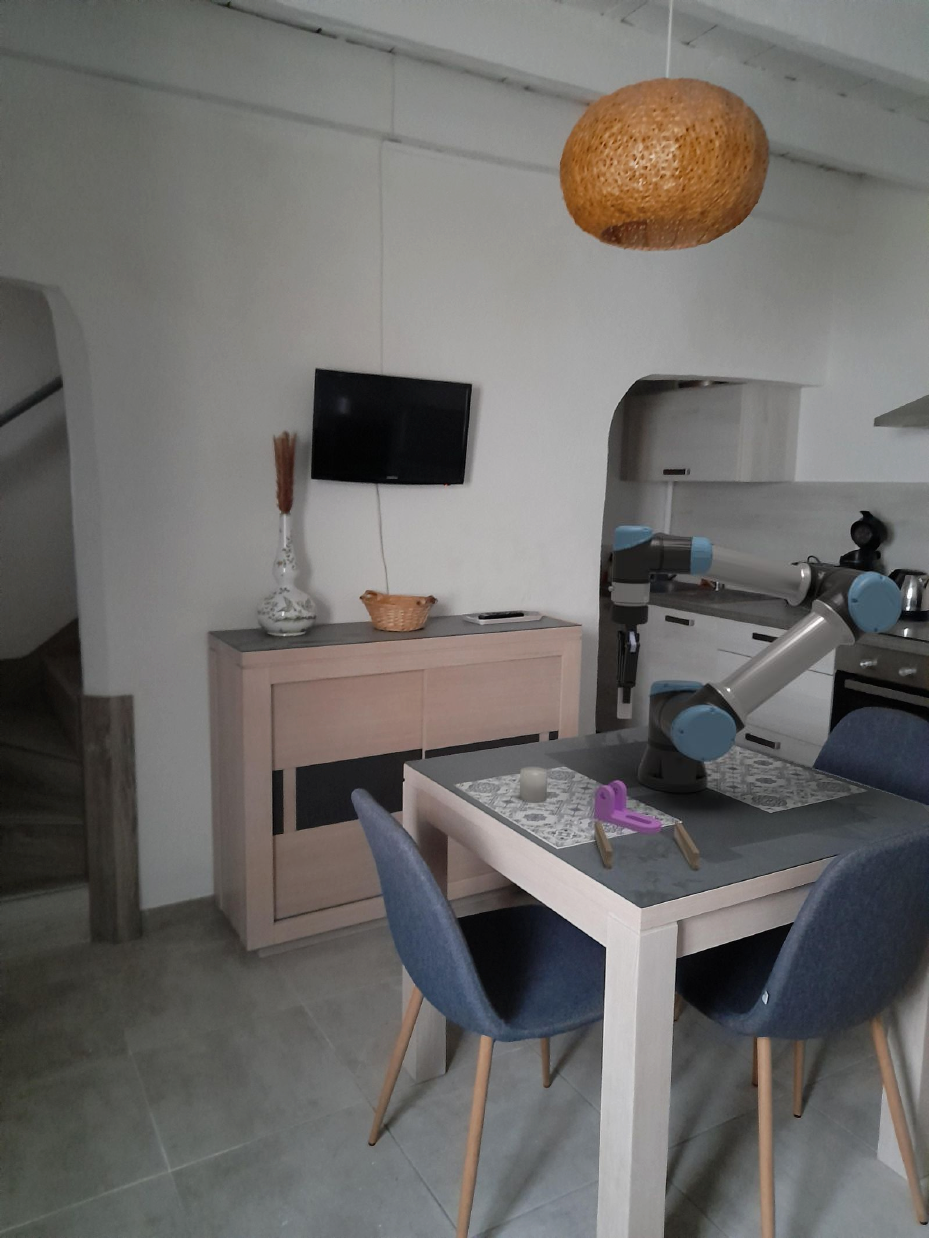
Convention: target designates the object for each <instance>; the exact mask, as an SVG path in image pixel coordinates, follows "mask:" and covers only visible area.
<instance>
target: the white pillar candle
mask: <svg viewBox="0 0 929 1238" xmlns="http://www.w3.org/2000/svg"><path fill="white" fill-rule="evenodd" d="M519 773H520V774H519V775H520V778H519V800H521V801H523V802H525V803H530V804H531V803H532V804H539V803H540V804H541V803H544V802H546V801H547V798H548V797H547V796H548V794H547V793H548V770H547V769H546V768H543V767H541V766H524V767H523V768H521V769H520V772H519Z"/></svg>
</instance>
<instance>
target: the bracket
mask: <svg viewBox="0 0 929 1238" xmlns="http://www.w3.org/2000/svg"><path fill="white" fill-rule="evenodd" d="M627 791H628V790H627V786H626V785H625V783H624V782H623V781H621V780H613V781H611V782H609V783H608V785H607V784H605V785H601V786H598V788H596V790H595V791H594V792H595V793H594V812H593V813H594V814H593V818H594V819H595V820H598V821H601V822H606V823H609V824H611V825H615V826H618V827H621V828H624V829H627V830H631V831H634V832H637V833H641V834H645V835H646V834H647V835H648V834H649V835H654V834H657V833H661V831H662V821H661V820H659V819H657V818H654V817H651V816H648V815H645V814H642V813H639V812H635V811H631V810H628V808H627V796H628V795H627V793H628V792H627Z"/></svg>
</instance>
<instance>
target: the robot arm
mask: <svg viewBox="0 0 929 1238" xmlns="http://www.w3.org/2000/svg"><path fill="white" fill-rule="evenodd" d="M612 543H613V545H612V549H611V550H612V570H611V571H612V573H611V574H612V575H611V577H612V578H611V586H608V591H609V592H611V594H610V595H611V596H610V600H611V601H612V602H613V603H611V604H610V611H609V614H610V615H609V620H610V622H612V624H613V623H614V624H616V625H619V630H617V631H616V634H615V637H616V676H615V677H616V680H617V683H616V688H617V707H616V709H617V710H616V711H617V712H616V717H617V719H621V720H622V719H625V720H627V719H632V718H633V717H632V715H633V714H632V713H633V712H632V711H633V695H634V693H633V692H634V688H635V687H636V684H637V682H636V681H637V671H638V661H639V653H640V649H641V643H640V638H641V637H640V634H641V633H639V632H638V626H639V625H645V624H647V623H648V622H649V606H648V605H647V603H649V602H650V594H651V593H650V589H651V574H654V575H659V574H660V575H684V576H685V575H686V576H688V577H689V576H690V577H692V578H693V577H694V578H698V579H702V580H705V581H706V580H707V581H711V582H713V583H714V582H715V583H718V584H722V585H726V586H730V587H735V588H738V589H743V590H747V591H751V592H754V593H755V592H756V593H758V594H759V593H760V594H764V595H768V596H772V597H776V598H780V599H784V600H787V602H788V605H790V606H793V607H797V608H801V609H804V610H806V611H810V613H808V614H807V615H806V616H804V617H803V618H802V619H800V621H798V622H796V624H794V625H793V626H791V627H790V628H789V629H788V630H787V631H785V632H784V633H783V634H781V635H780V636H779V637H778V638H776V639H774V640H773V641H772V642H771V643H769V645H767V646H766V647H764V648H763V649H762V650H761V651H758V653H757V654H755V655H754V656H753V657H751V658H750V659H749V660H747V661H746V662H745V663H744V664H742V665H741V666H739V667H738V668H737V669H736V670H734V671H733V672H731V673H730V674H728V676H727V677H725V678H724V679H723V680H722V681H720V682H710V681H709V682H706V683H703V682H701V681H695V680H682V679H681V680H679V679H678V680H675V679H673V680H672V679H669V680H668V679H667V680H664V679H663V680H662V679H661V680H656V681H654V682H653V683H651V685H650V689H649V690H650V692H649V694H648V698H649V702H648V703H649V704H648V706H649V707H648V708H649V709H648V725H647V727H648V729H647V746H646V749H645V751H644V754H643V756H642V759H641V761H640V764H639V767H638V770H637V771H638V772H637V780H638V782H639V783H640V784H642V785H643V786H645V787H647V788H650V789H653V790H656V791H661V792H669V793H675V794H676V793H679V794H681V793H682V794H686V793H695V792H699V791H703V790H705V789H706V788H707V786H708V780H709V779H708V776H709V775H708V772H707V771H708V770H707V769H706V763H705V762H709V761H710V762H711V761H715V760H718V759H720V758H722V757H723V756H725V755H726V754H728V753H729V751H730V750H731V749H732V747H733V746H734V744H735V742H736V740H735V739H736V737H737V734H738V733H740V732H741V731H742V730H744V728H746V727H747V717H748V716H749V715H750V714H752V713H753V712H754V711H756V710H757V709H758V708H759V707H761V706H762V705H764V704H765V703H766V702H767V701H768V700H770V699H771V698H773V696H775V695H776V694H777V693H779V692H780V691H782V690H783V689H784V688H785V687H787V686H788V685H789V684H791V683H792V682H793V681H795V680H796V679H797V678H799V677H800V676H801V675H803V674H804V673H805V672H806V671H808V670H809V669H810V668H811V667H812V666H814V665H816V664H817V663H818V662H819V661H821V660H822V659H823V658H825V657H827V655H828V654H830V653H831V652H832V651H834V650H835V649H836V648H838V647H839V646H840V645H841V646H842V645H844V646H853V645H854V644H856V643H857V642H858V641H859V640H861V639H863V638H864V637H865V636H866V635H868V634H878V633H883V632H886V631H888V630H890V629H891V628H892V627H893V626H894V625H895V624H896V623H897V622H898V620H899V619H900V616H901V613H902V610H903V609H902V606H903V596H902V592H901V590H900V588H899V587H898V584H896V582H895V581H894V580H893V579H891V578H890V577H888V576H886V575H884V574H880V573H879V572H876V571H864V570H858V569H854V568H850V567H837V566H823V565H817V564H812V563H807V562H800V563H798V564H791V563H788V562H787V563H786V562H784V561H783V562H782V561H779V560H775V559H770V558H767V557H764V556H763V557H762V556H759V555H754V554H750V553H746V552H742V551H738V550H733V549H729V548H725V547H722V546H718V545H717V546H716V545H713V544H712V543H711V541H710V540H709V539H708V538H707V537H699V536H695V535H693V536H680V535H675V534H668V533H667V532H665V533H664V532H661V531H659V532H655V533H654V532H653V529H652V527H650V526H645V525H620V526H618V527H616V528H615V530H614V534H613V542H612Z"/></svg>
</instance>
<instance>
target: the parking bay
mask: <svg viewBox="0 0 929 1238" xmlns="http://www.w3.org/2000/svg"><path fill="white" fill-rule="evenodd" d="M673 831H674V833H673V838H674V840H675V842H676V843H677V845H678V847H679V849H680V851H682V854H683V855H684V857H685V858H686V860H687V862H688V863H689V865H690V867H691V869H692V870H700V857H701V855H700V854H701V852H700V851H699V849H698V848H697V847H696V845H695V843H694V842H693V840H692V838H691V837H690V835H689V834H688V832H687V831H686V829H685V827H684V826H683V824H682V823H681V822H680V821H677V822H674V830H673ZM593 833H594V835H593V836H594V837H593V838H594V839H595V842H596V845H597V848H598V850H599V853H600V856H601V859H602V861H603V864H604V866H605V869H612V867H613V850H612V847H611V845H610V841H609V839H608V837H607V834H606V832H605V829H604V827H603V824H602V821H601V820H594V832H593Z"/></svg>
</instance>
